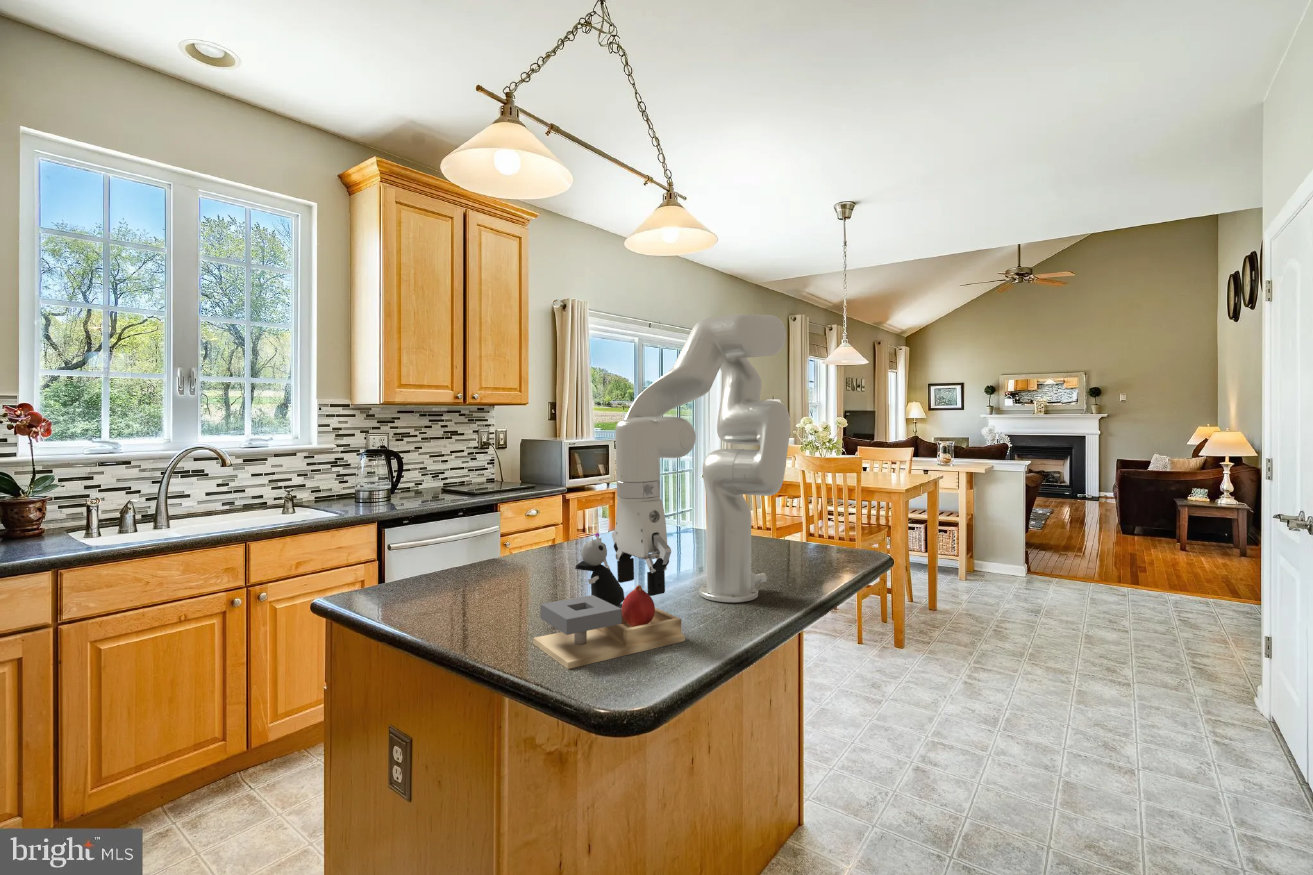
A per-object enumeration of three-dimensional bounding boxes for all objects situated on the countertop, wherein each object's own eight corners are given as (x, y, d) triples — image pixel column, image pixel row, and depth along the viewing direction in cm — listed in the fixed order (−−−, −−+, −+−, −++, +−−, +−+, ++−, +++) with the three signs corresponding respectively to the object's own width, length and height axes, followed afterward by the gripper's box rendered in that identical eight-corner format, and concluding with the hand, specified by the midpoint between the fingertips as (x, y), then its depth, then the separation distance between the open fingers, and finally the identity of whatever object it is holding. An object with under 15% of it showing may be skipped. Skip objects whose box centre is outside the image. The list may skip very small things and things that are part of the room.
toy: (619, 614, 117) (595, 538, 117) (586, 623, 118) (562, 548, 119) (633, 597, 128) (612, 528, 129) (603, 606, 129) (582, 537, 130)
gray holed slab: (592, 608, 108) (592, 595, 108) (621, 623, 100) (621, 608, 100) (540, 618, 103) (540, 603, 103) (566, 634, 95) (566, 619, 95)
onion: (616, 627, 109) (617, 582, 109) (647, 623, 112) (647, 579, 112) (628, 637, 104) (628, 590, 104) (659, 633, 106) (660, 587, 106)
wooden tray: (643, 620, 116) (643, 591, 116) (684, 640, 106) (684, 608, 106) (533, 643, 104) (533, 611, 104) (567, 669, 93) (567, 632, 93)
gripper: (685, 493, 103) (687, 595, 104) (630, 483, 117) (632, 573, 118) (647, 498, 98) (650, 604, 99) (595, 487, 113) (597, 580, 114)
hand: (640, 587), depth 109 cm, fingers open, 9 cm apart
